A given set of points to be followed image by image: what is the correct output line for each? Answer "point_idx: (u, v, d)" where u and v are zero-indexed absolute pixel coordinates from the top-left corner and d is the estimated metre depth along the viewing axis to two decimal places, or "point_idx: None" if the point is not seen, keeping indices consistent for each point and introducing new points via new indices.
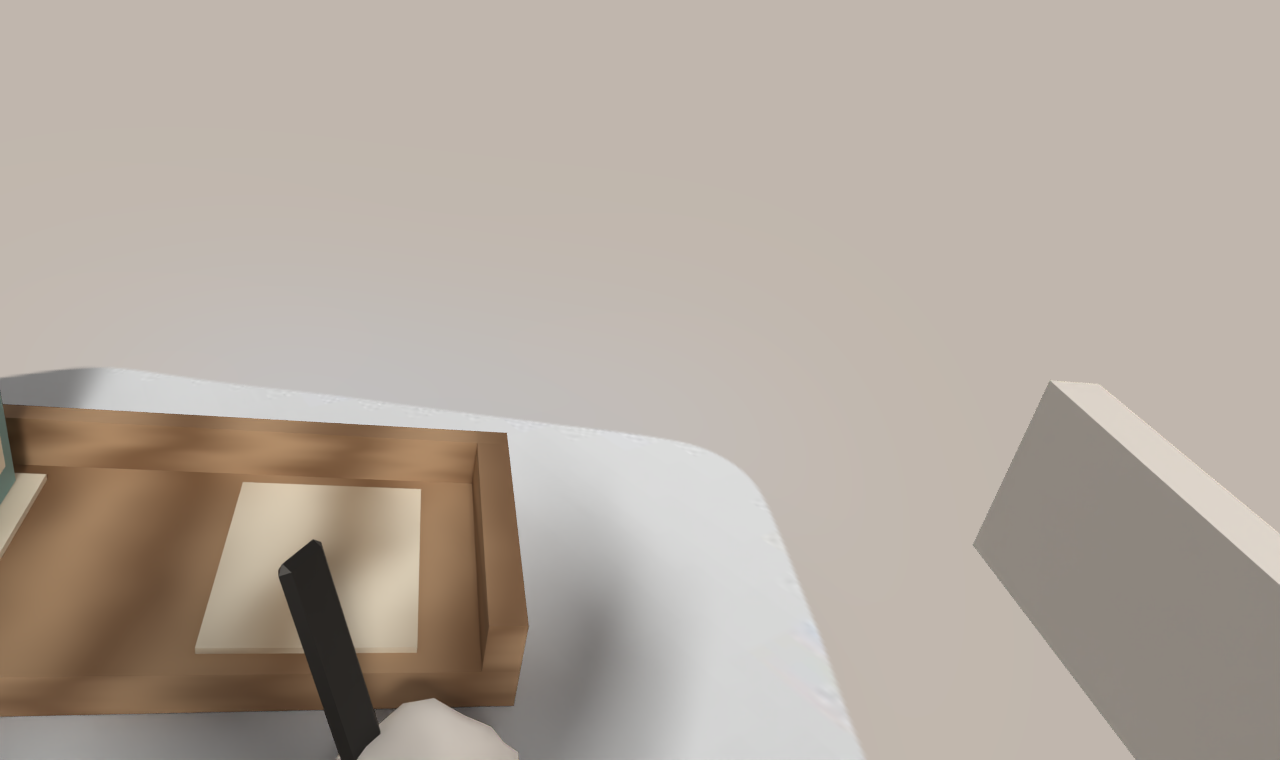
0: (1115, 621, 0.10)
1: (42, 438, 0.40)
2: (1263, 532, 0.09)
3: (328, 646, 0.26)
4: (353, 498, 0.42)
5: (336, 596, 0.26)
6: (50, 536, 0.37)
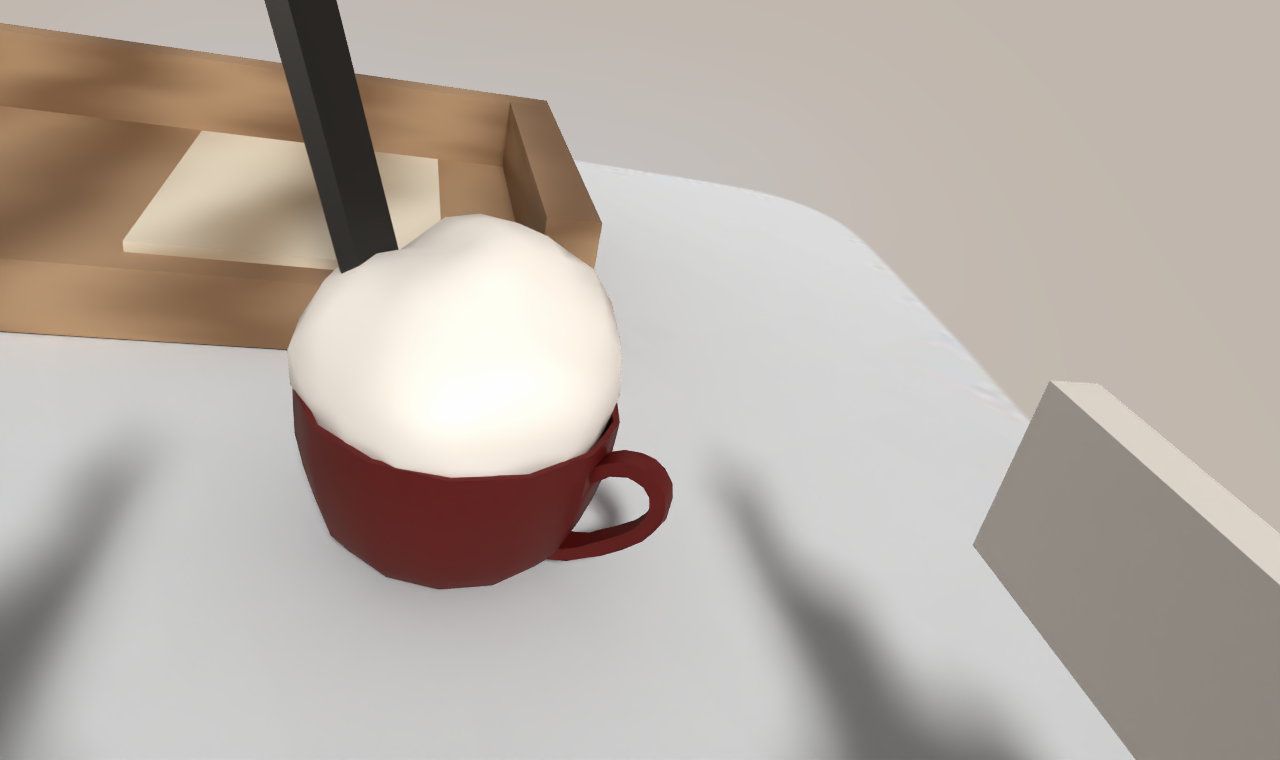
0: (1114, 621, 0.10)
1: None
2: (1263, 532, 0.09)
3: (312, 34, 0.16)
4: None
5: None
6: None
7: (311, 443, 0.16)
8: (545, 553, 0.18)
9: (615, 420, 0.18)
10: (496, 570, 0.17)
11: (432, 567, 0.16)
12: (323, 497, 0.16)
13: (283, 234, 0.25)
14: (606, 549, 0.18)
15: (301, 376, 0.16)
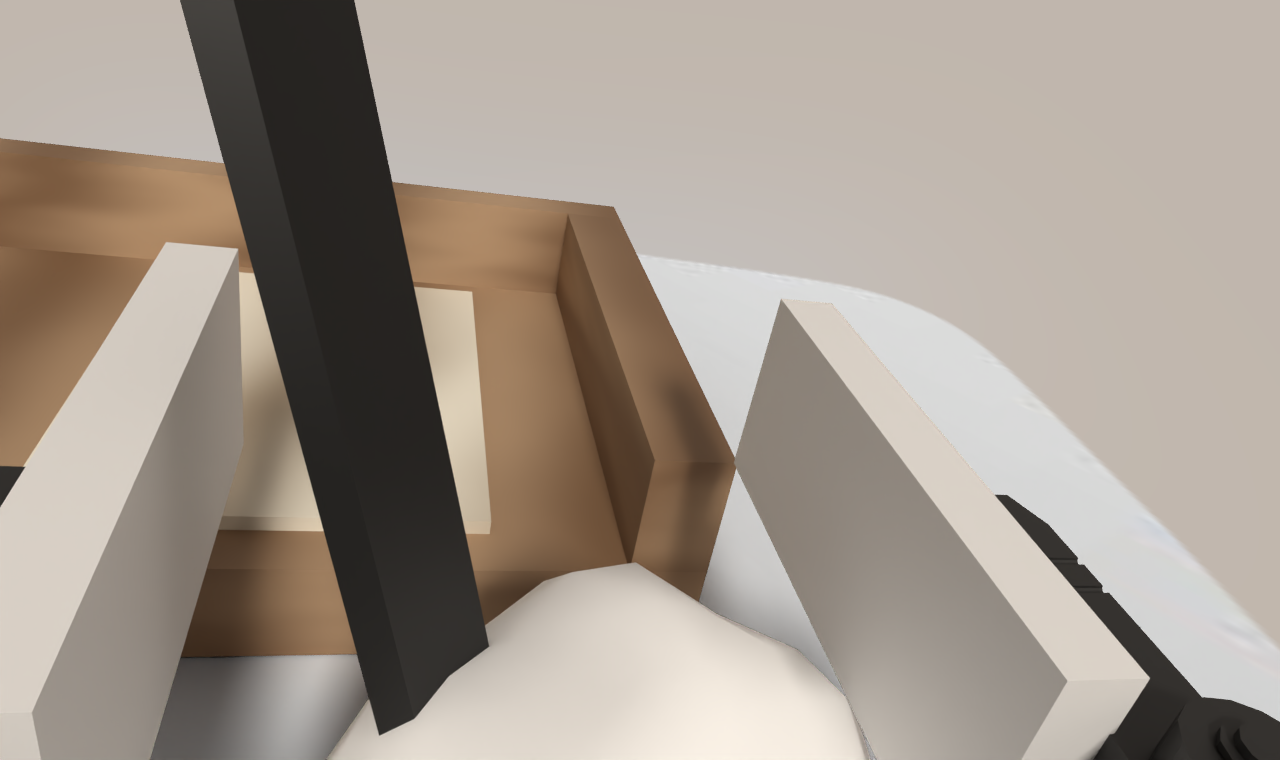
0: (811, 514, 0.11)
1: None
2: (917, 421, 0.10)
3: (347, 301, 0.08)
4: None
5: (383, 150, 0.08)
6: None
7: None
8: None
9: None
10: None
11: None
12: None
13: (252, 467, 0.17)
14: None
15: None
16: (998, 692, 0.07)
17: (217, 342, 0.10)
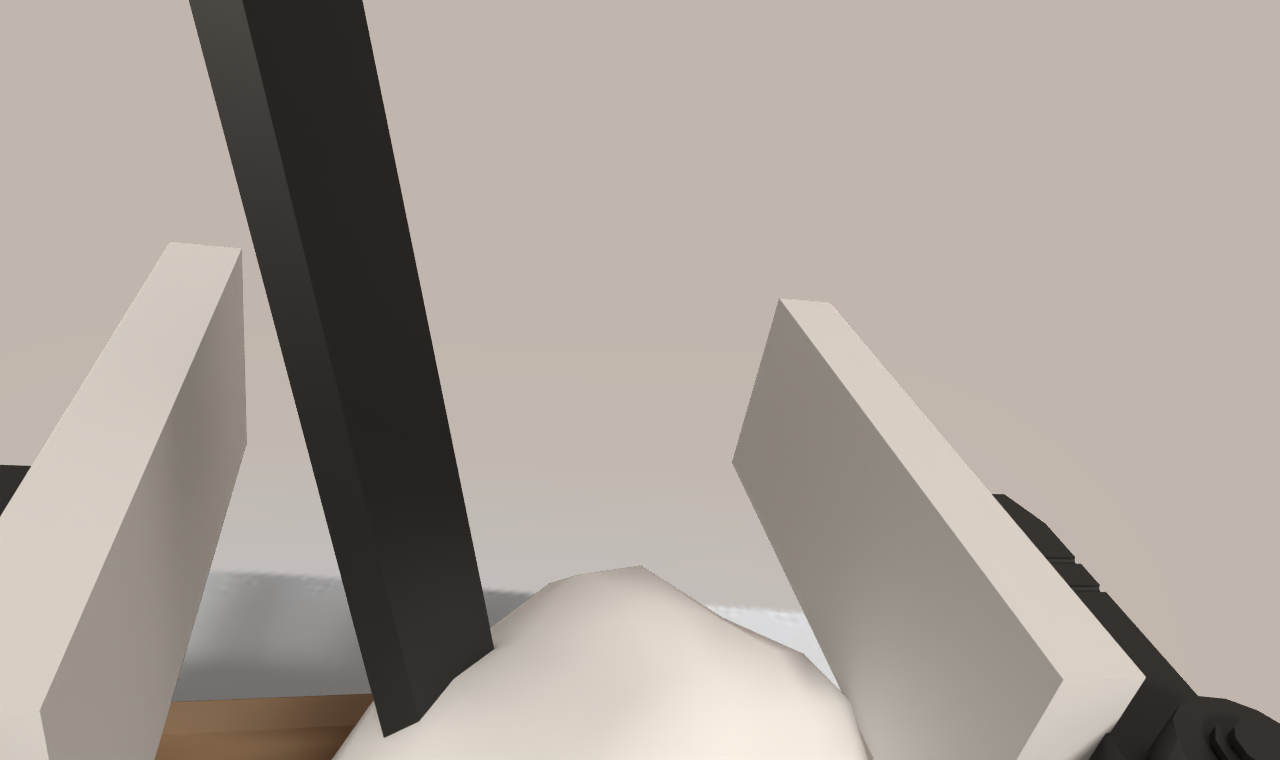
0: (809, 513, 0.11)
1: None
2: (915, 420, 0.10)
3: (354, 303, 0.08)
4: None
5: (390, 152, 0.08)
6: None
7: None
8: None
9: None
10: None
11: None
12: None
13: None
14: None
15: None
16: (995, 691, 0.07)
17: (221, 342, 0.10)
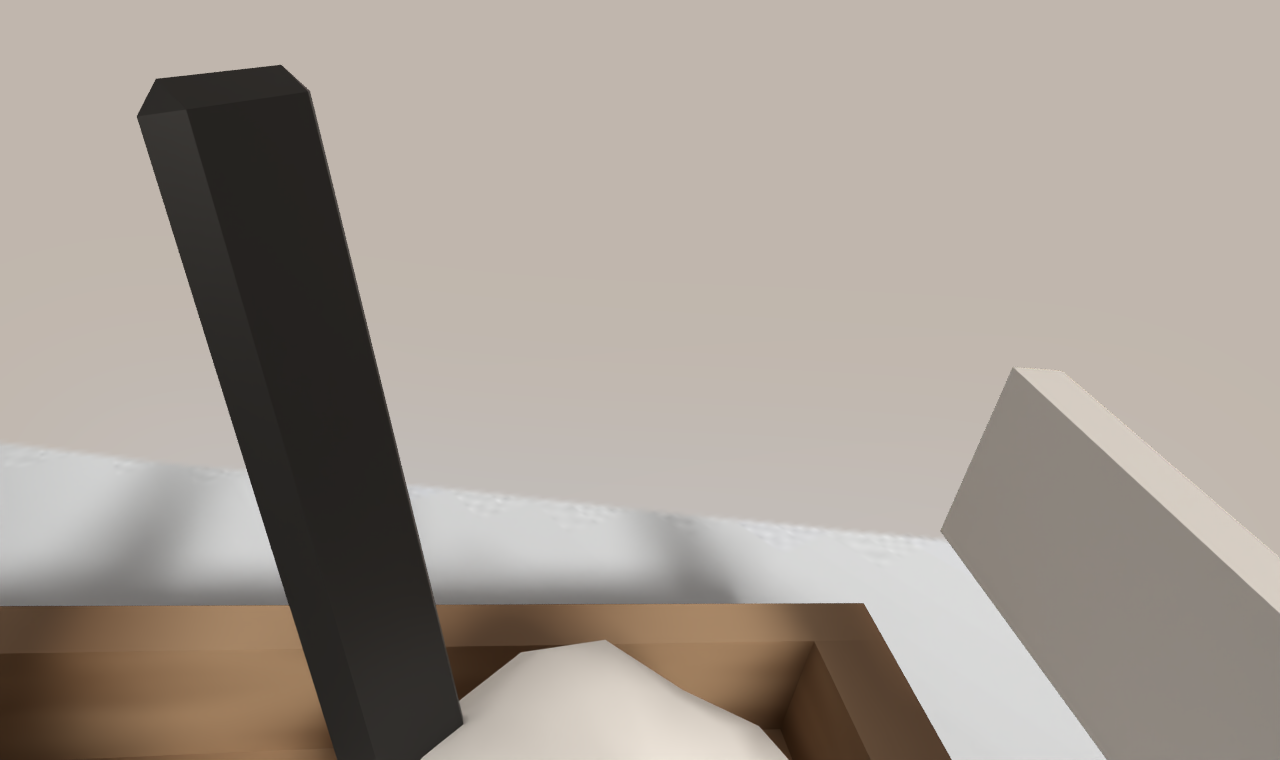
0: (1072, 601, 0.10)
1: None
2: (1213, 513, 0.09)
3: (317, 425, 0.08)
4: None
5: (351, 279, 0.08)
6: None
7: None
8: None
9: None
10: None
11: None
12: None
13: None
14: None
15: None
16: None
17: None
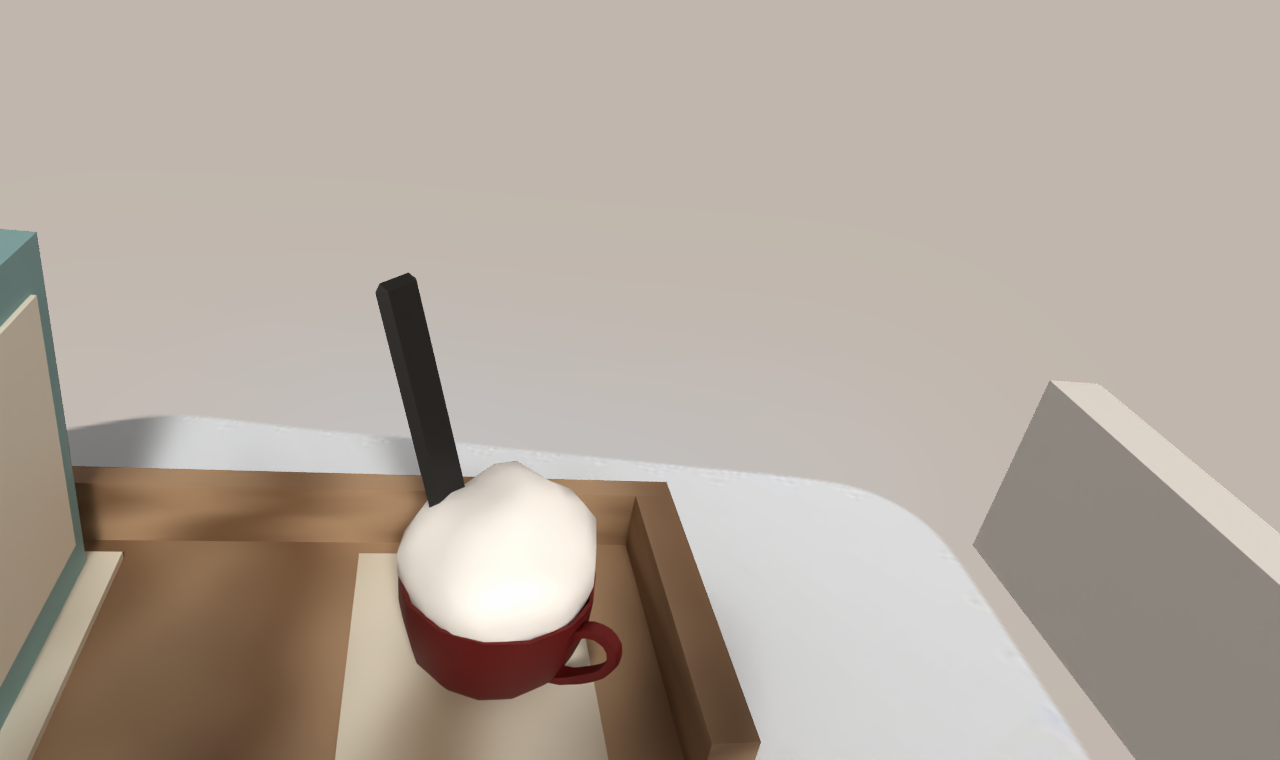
0: (1114, 620, 0.10)
1: (117, 506, 0.32)
2: (1263, 532, 0.09)
3: (419, 378, 0.27)
4: None
5: (428, 333, 0.28)
6: (133, 633, 0.29)
7: (407, 613, 0.27)
8: (544, 681, 0.29)
9: (590, 600, 0.29)
10: (512, 692, 0.28)
11: (473, 689, 0.28)
12: (412, 643, 0.28)
13: (464, 737, 0.28)
14: (582, 681, 0.29)
15: (403, 572, 0.28)
16: None
17: None
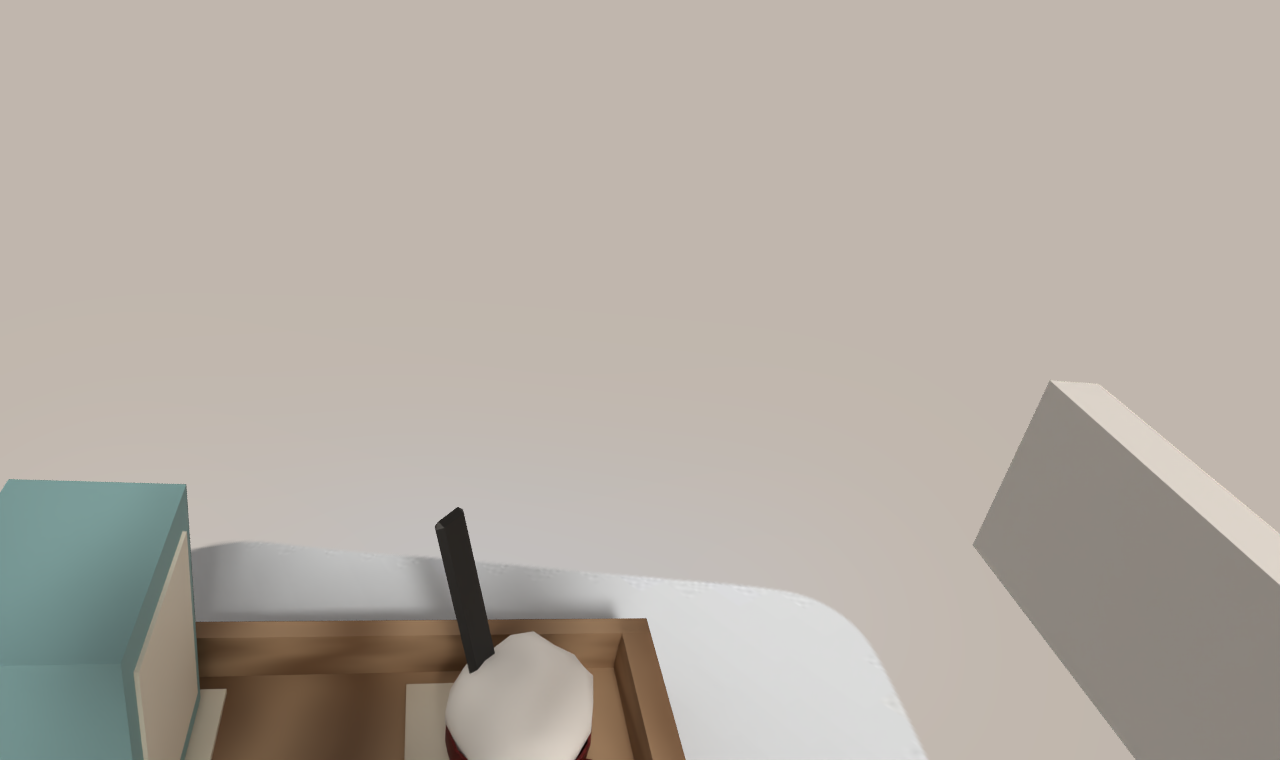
0: (1115, 621, 0.10)
1: (222, 653, 0.42)
2: (1263, 532, 0.09)
3: (464, 583, 0.37)
4: None
5: (471, 548, 0.37)
6: None
7: (454, 756, 0.37)
8: None
9: (588, 742, 0.39)
10: None
11: None
12: None
13: None
14: None
15: (451, 724, 0.37)
16: None
17: None
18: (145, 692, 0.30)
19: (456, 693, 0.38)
